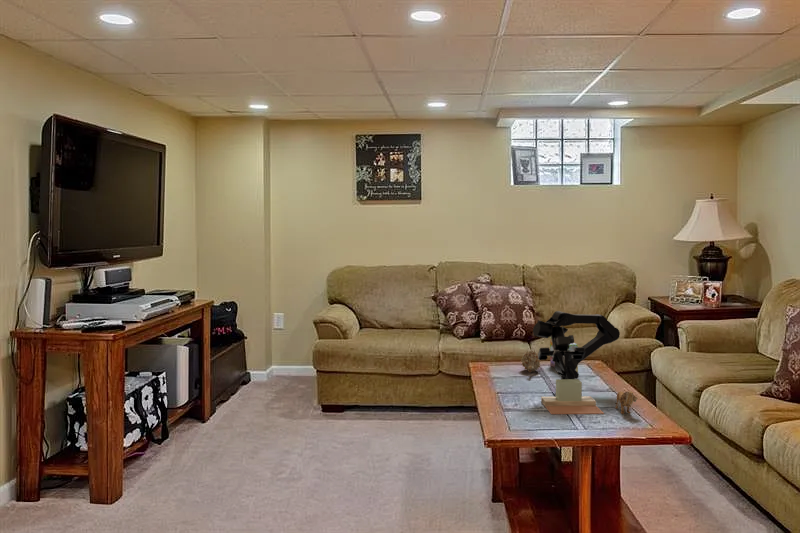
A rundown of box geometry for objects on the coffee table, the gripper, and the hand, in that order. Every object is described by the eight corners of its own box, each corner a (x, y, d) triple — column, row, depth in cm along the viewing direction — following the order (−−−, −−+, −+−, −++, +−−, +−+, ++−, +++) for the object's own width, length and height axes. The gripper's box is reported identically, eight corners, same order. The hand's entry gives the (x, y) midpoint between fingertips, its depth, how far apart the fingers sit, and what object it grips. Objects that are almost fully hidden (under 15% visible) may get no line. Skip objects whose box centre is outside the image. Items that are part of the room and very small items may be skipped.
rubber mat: (545, 406, 240) (545, 406, 240) (596, 406, 240) (596, 405, 240) (551, 414, 231) (551, 413, 231) (604, 413, 231) (604, 413, 231)
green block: (555, 397, 246) (555, 379, 246) (578, 397, 246) (578, 379, 246) (558, 401, 241) (559, 382, 241) (581, 400, 241) (581, 382, 241)
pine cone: (519, 367, 308) (520, 348, 308) (539, 368, 307) (539, 348, 306) (522, 378, 286) (522, 357, 286) (543, 378, 285) (543, 357, 284)
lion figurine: (638, 416, 228) (639, 392, 227) (625, 416, 227) (625, 393, 227) (621, 404, 242) (621, 382, 242) (608, 405, 242) (608, 383, 241)
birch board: (541, 401, 248) (541, 396, 248) (590, 401, 248) (590, 396, 247) (545, 406, 241) (545, 401, 241) (595, 406, 241) (595, 401, 240)
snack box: (549, 365, 312) (549, 336, 311) (559, 365, 313) (559, 336, 312) (567, 375, 291) (568, 344, 290) (578, 374, 292) (578, 343, 291)
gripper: (539, 328, 253) (545, 360, 243) (584, 328, 253) (592, 360, 242) (535, 343, 261) (541, 375, 251) (578, 343, 261) (586, 374, 251)
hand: (565, 371), depth 249 cm, fingers closed
